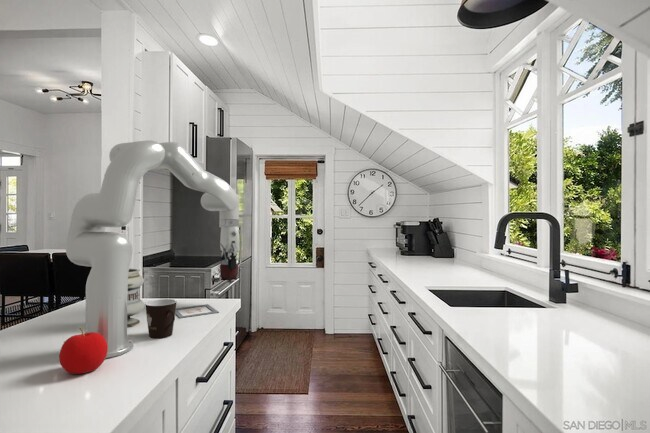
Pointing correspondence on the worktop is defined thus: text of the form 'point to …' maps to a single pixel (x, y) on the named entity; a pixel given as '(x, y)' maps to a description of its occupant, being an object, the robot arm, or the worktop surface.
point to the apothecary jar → (134, 296)
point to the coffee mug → (160, 317)
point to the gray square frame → (176, 312)
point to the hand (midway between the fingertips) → (228, 267)
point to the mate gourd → (224, 270)
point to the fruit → (83, 352)
